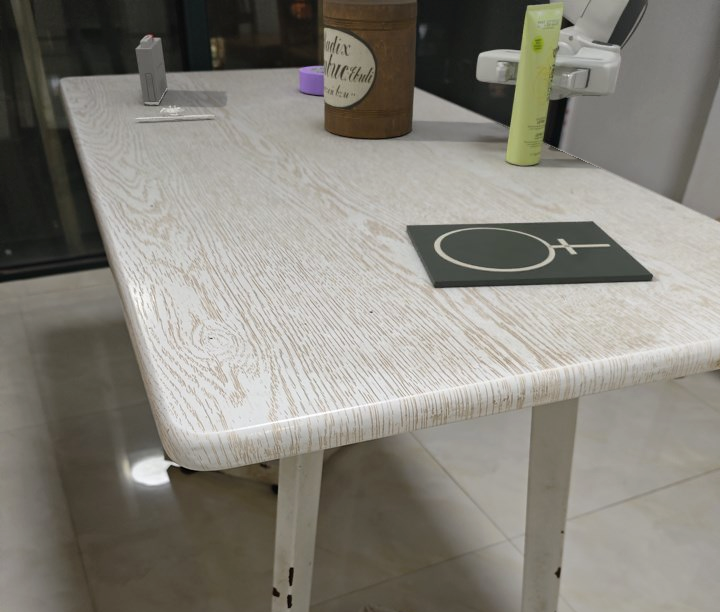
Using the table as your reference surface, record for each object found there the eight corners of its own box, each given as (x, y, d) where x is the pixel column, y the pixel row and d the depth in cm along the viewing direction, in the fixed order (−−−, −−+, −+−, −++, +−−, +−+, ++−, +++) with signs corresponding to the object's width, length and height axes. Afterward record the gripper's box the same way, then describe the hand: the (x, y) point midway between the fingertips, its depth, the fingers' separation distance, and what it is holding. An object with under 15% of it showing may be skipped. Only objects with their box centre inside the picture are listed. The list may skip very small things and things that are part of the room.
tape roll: (326, 83, 151) (326, 63, 149) (368, 91, 146) (368, 70, 143) (287, 90, 144) (287, 69, 142) (329, 99, 139) (329, 76, 136)
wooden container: (308, 124, 120) (304, -35, 107) (379, 116, 127) (384, -35, 113) (355, 143, 111) (357, -29, 97) (429, 133, 117) (441, -30, 104)
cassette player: (154, 89, 143) (145, 31, 137) (167, 89, 143) (160, 31, 137) (144, 105, 131) (134, 42, 124) (158, 105, 131) (150, 42, 125)
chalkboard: (591, 226, 82) (593, 219, 82) (651, 280, 70) (654, 272, 69) (406, 230, 80) (406, 223, 79) (434, 287, 67) (434, 279, 67)
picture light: (133, 123, 119) (131, 109, 118) (131, 117, 122) (129, 104, 121) (216, 119, 123) (214, 105, 121) (212, 113, 126) (211, 100, 125)
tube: (540, 168, 101) (567, 5, 89) (504, 166, 102) (527, 4, 90) (538, 158, 106) (564, 1, 94) (504, 156, 106) (525, 0, 94)
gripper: (495, 35, 108) (463, 45, 98) (632, 46, 101) (612, 58, 91) (490, 82, 112) (459, 96, 102) (621, 95, 105) (601, 112, 95)
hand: (532, 78), depth 97 cm, fingers open, 8 cm apart
